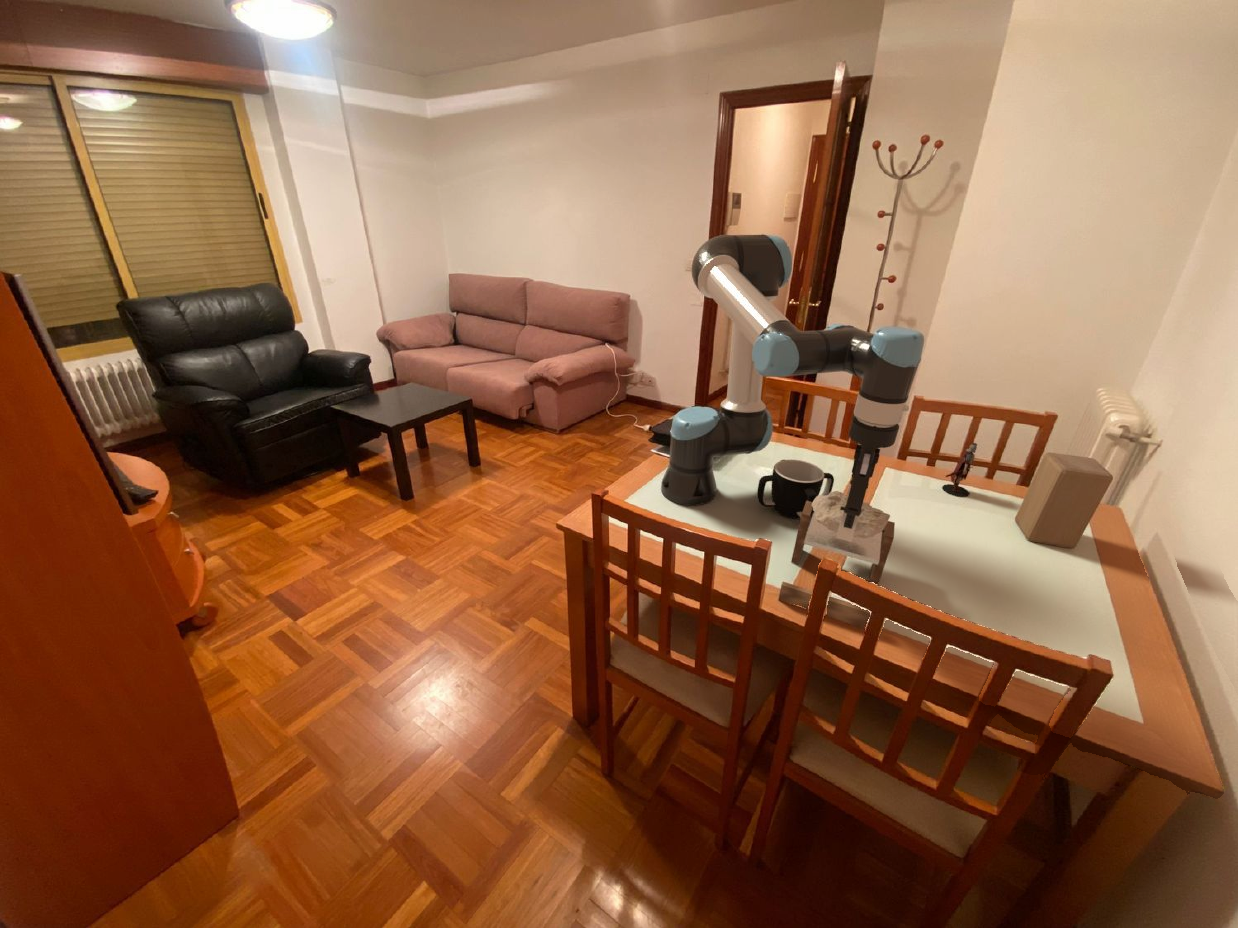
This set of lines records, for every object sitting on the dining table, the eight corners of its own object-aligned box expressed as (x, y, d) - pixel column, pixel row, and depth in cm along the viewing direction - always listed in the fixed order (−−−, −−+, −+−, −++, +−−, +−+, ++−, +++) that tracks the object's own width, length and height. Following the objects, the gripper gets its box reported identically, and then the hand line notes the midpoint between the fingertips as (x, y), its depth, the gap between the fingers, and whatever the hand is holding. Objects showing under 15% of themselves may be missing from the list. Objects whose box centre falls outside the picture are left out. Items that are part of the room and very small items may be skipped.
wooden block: (1058, 527, 125) (1095, 456, 116) (1076, 550, 117) (1117, 476, 108) (1012, 519, 128) (1044, 450, 119) (1026, 541, 120) (1061, 468, 110)
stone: (846, 559, 95) (883, 531, 88) (799, 509, 100) (832, 479, 93) (863, 544, 100) (900, 516, 93) (818, 497, 104) (850, 467, 97)
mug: (778, 487, 141) (786, 449, 135) (834, 510, 131) (844, 470, 125) (747, 509, 131) (753, 469, 125) (804, 536, 121) (814, 493, 115)
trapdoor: (802, 551, 100) (804, 539, 98) (816, 506, 115) (819, 495, 113) (875, 573, 94) (879, 560, 93) (880, 522, 109) (883, 511, 108)
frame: (778, 600, 101) (789, 548, 95) (795, 547, 116) (806, 500, 110) (872, 631, 94) (891, 578, 88) (878, 571, 109) (894, 522, 103)
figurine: (969, 499, 137) (989, 450, 130) (939, 492, 140) (957, 444, 133) (968, 488, 142) (987, 441, 135) (939, 482, 145) (956, 435, 138)
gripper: (899, 447, 77) (863, 563, 88) (901, 404, 93) (870, 506, 104) (847, 437, 80) (818, 550, 91) (858, 397, 97) (832, 497, 107)
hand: (846, 527), depth 97 cm, fingers closed on stone, 8 cm apart
